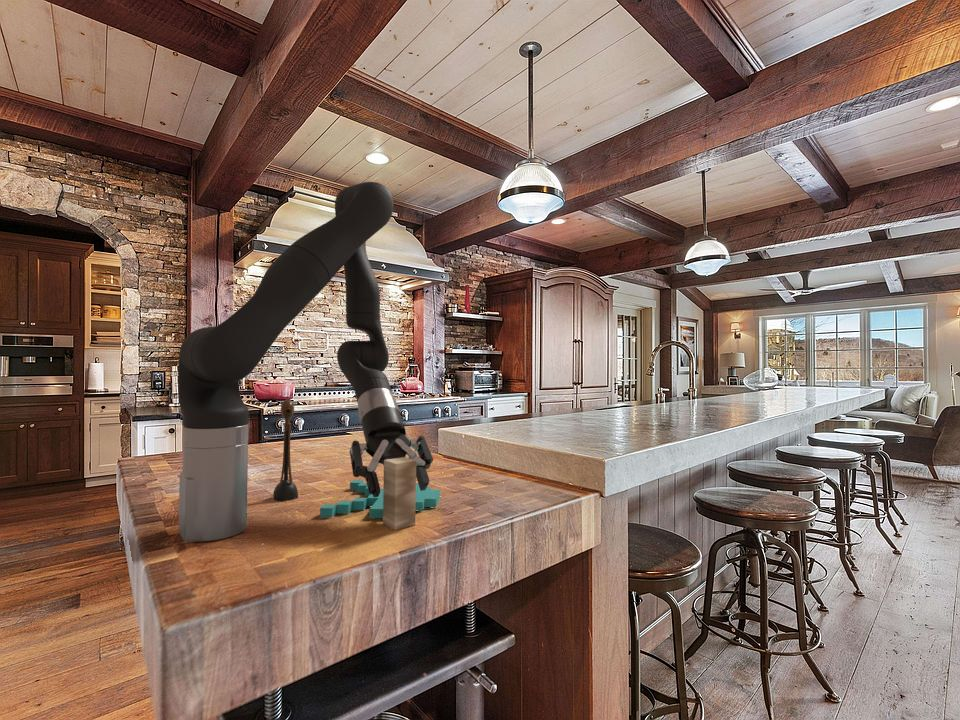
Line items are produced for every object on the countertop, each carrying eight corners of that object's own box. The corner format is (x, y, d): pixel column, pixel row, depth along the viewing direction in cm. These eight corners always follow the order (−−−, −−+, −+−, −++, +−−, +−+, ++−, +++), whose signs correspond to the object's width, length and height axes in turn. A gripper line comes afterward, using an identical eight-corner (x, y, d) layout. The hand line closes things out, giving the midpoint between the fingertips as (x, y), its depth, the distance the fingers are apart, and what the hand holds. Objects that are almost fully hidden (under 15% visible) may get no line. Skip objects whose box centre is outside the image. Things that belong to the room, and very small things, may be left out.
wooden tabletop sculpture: (298, 501, 92) (300, 400, 92) (272, 503, 90) (274, 400, 90) (297, 493, 97) (299, 398, 98) (273, 495, 96) (275, 398, 96)
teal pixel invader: (319, 520, 82) (431, 522, 82) (320, 508, 83) (431, 509, 82) (353, 490, 102) (443, 491, 102) (353, 480, 103) (443, 481, 102)
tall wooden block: (394, 530, 77) (395, 463, 77) (375, 520, 82) (376, 457, 82) (415, 525, 79) (416, 460, 79) (395, 515, 84) (396, 454, 84)
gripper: (347, 406, 83) (365, 484, 73) (420, 403, 90) (446, 474, 80) (339, 431, 88) (355, 509, 78) (409, 427, 95) (432, 497, 85)
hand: (401, 491), depth 79 cm, fingers open, 8 cm apart
